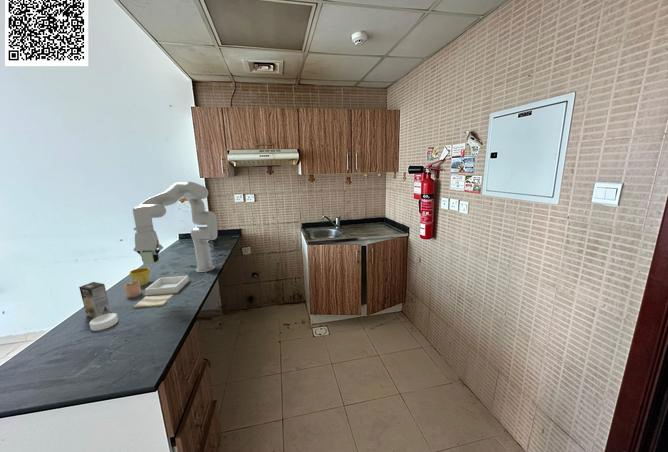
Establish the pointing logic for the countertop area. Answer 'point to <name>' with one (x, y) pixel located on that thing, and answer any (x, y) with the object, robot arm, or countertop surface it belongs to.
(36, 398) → the countertop surface
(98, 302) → the coffee box
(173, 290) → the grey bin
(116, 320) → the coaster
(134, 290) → the terracotta cup
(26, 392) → the countertop surface
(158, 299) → the pad
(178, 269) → the countertop surface
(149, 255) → the sage block
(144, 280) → the plant pot
